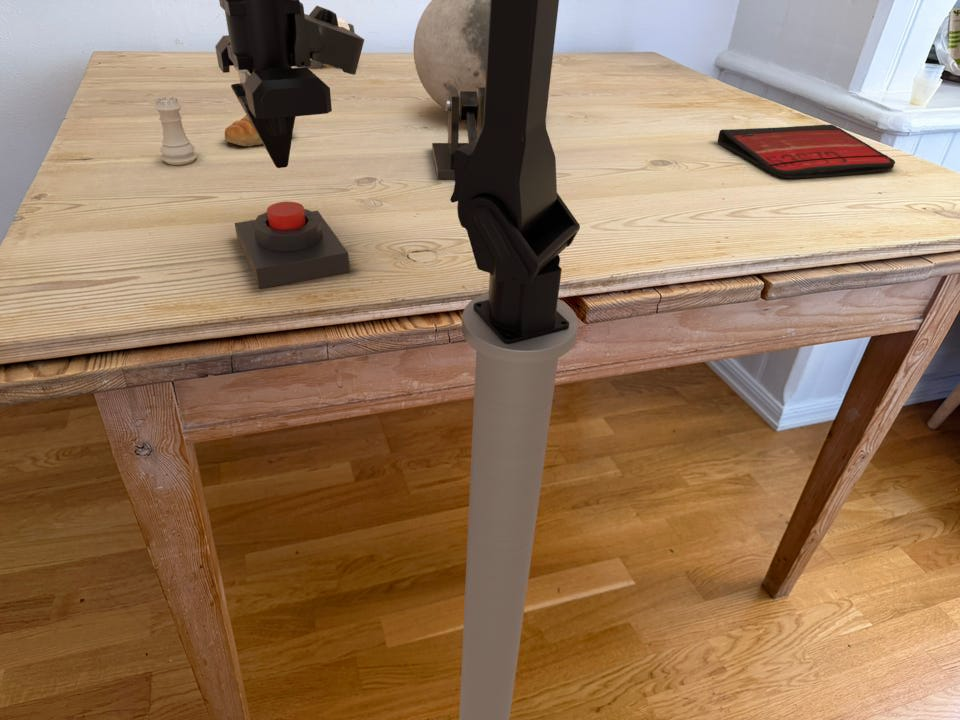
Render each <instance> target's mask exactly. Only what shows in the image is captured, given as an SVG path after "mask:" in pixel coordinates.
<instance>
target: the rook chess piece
mask: <svg viewBox="0 0 960 720" xmlns="http://www.w3.org/2000/svg"><path fill="white" fill-rule="evenodd" d="M155 101H156V102H155V106H154V109H155V110H156V111H157V112H158V113H159V118H158V120H159V121H160V123H161V126H162V127H161V128H162V136H163V137H162V142H161V144H162V145H161V147H160V153H161V154H162V155H161V160H162V161H163V162H165V163H166V164H167V165H173V166H181V165H188V164H191V163H193V162H194V161H195V160H196V158H197V154H196V152H195V150H196V149H195V146H194V145H193V144H192V143H191V141H190V139H189V138H188V136H187V135H186V131H185V129H184V127H183V123H182V119H183V117H182V116H181V114H180V110H181V108H182V105H181V103H179V101H178V98H177V97H175V96H172V95H170V96H168V99H167V97H166V96H164V95H163V96H161V97H157V98H155Z"/></svg>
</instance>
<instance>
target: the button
mask: <svg viewBox="0 0 960 720" xmlns="http://www.w3.org/2000/svg"><path fill="white" fill-rule="evenodd" d="M304 209H305V207H304V205H303V204H301V203H299V202H296V201H279V202H275V203H273V204H270V205H269V206H268V207H267V208H266V212H267V215H268V221H269V227H270V228H273V229H275V230H292V229H298V228H300V227H302V226H304V225H306V221H305V213H304Z"/></svg>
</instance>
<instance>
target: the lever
mask: <svg viewBox="0 0 960 720" xmlns="http://www.w3.org/2000/svg"><path fill="white" fill-rule="evenodd" d="M478 107H479V105H478V98H477V92H476V91H460V101H459V109H460V116H459V118H460V120H461V121H465V125H466V133H467V140H468V142H467V143H470V142H472V141H474V140H476V139H478V136H477V116H478Z"/></svg>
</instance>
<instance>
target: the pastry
mask: <svg viewBox="0 0 960 720" xmlns="http://www.w3.org/2000/svg"><path fill="white" fill-rule="evenodd" d="M224 141H225V142H228V143H230V144H233V145H238V146H243V147H244V148H245V147H252V146H261V145H263V143H262V141H261V139H260V138H259V136H258V134H257V132H256V130H255V129H254V127H253V125H252V123H251V122H250V120H249V118H248V116H247V114H245V115H244V116H243V117H242V118H241V119H239V120H235V121H233V123H232V124H230V125H228V126H227V127H225V130H224Z"/></svg>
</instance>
